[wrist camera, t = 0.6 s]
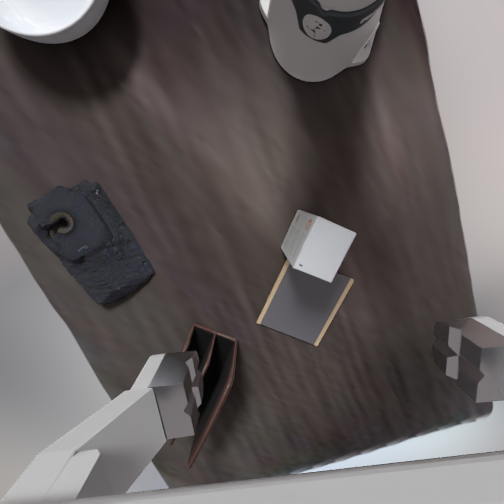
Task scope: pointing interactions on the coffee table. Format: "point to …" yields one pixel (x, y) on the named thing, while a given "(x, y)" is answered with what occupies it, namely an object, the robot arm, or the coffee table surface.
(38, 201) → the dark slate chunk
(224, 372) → the letter holder
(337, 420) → the coffee table surface
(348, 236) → the small box
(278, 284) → the mat
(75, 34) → the serving bowl
